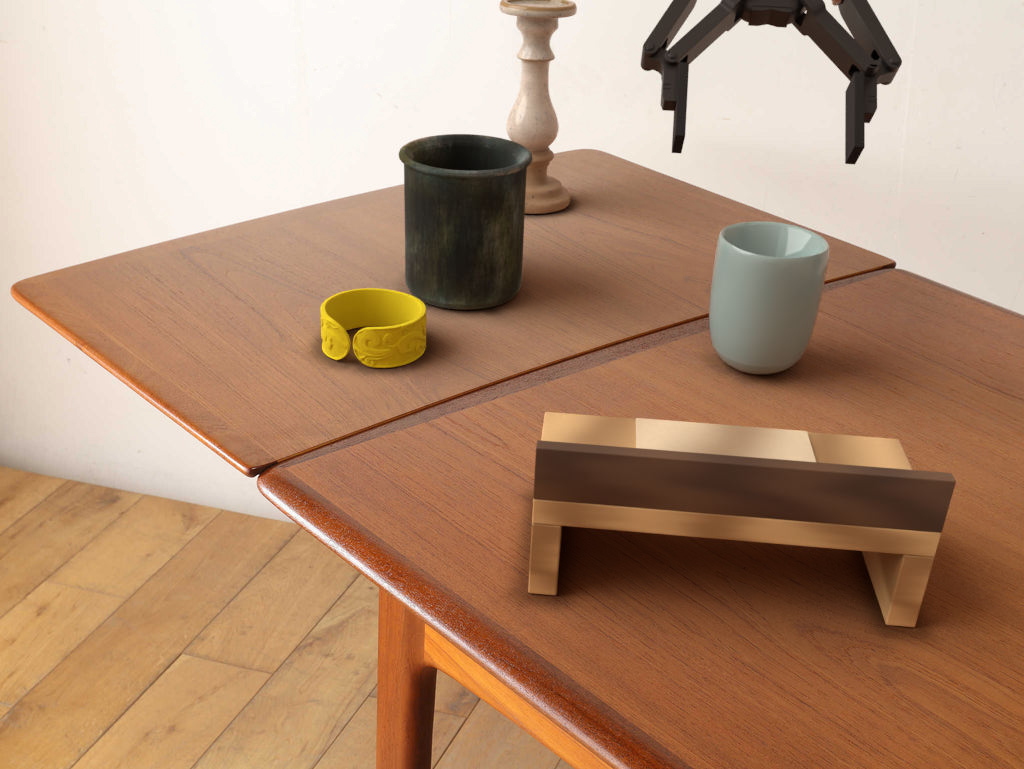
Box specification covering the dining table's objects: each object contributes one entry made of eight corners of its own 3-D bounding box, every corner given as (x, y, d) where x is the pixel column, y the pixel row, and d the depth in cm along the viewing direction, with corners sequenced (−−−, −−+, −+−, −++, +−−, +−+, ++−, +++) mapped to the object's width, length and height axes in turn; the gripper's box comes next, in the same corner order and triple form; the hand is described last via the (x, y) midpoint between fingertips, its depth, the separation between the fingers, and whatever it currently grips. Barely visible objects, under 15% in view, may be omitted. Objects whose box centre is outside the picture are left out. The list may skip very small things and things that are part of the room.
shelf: (877, 525, 62) (910, 391, 58) (915, 628, 54) (956, 481, 50) (539, 497, 63) (547, 364, 59) (527, 593, 55) (535, 448, 51)
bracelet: (348, 319, 85) (347, 281, 83) (441, 336, 83) (441, 297, 81) (304, 356, 78) (302, 316, 77) (403, 375, 76) (403, 334, 75)
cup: (683, 348, 82) (698, 226, 77) (766, 334, 85) (785, 216, 80) (740, 393, 76) (760, 264, 71) (827, 377, 79) (852, 251, 74)
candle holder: (540, 184, 118) (550, -7, 108) (586, 207, 111) (601, 6, 102) (472, 195, 113) (476, -3, 104) (516, 220, 107) (525, 10, 97)
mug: (398, 314, 86) (395, 170, 80) (403, 250, 98) (402, 122, 93) (531, 315, 86) (538, 173, 81) (519, 251, 99) (524, 124, 94)
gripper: (909, -38, 91) (913, 183, 85) (620, -53, 92) (603, 163, 86) (940, -102, 84) (946, 135, 78) (625, -117, 85) (608, 114, 79)
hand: (766, 150), depth 82 cm, fingers open, 13 cm apart
